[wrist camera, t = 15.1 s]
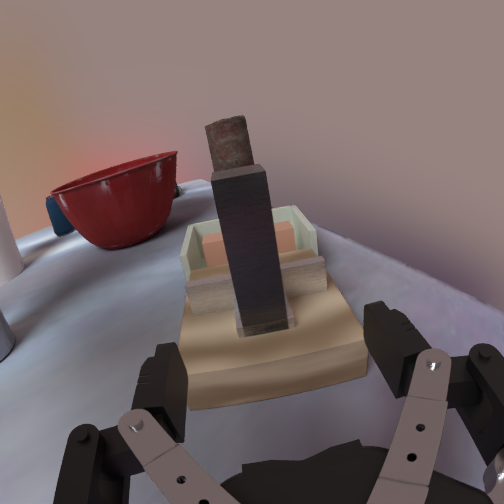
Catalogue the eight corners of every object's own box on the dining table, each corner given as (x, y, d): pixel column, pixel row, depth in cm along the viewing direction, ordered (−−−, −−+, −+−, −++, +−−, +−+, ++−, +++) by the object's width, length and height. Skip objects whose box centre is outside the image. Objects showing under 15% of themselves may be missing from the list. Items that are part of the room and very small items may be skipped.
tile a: (242, 236, 39) (241, 228, 42) (201, 243, 39) (203, 235, 42) (249, 273, 41) (248, 262, 44) (210, 279, 41) (212, 269, 44)
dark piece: (342, 316, 24) (331, 160, 20) (190, 346, 24) (144, 195, 19) (324, 285, 29) (310, 152, 24) (194, 310, 29) (159, 180, 24)
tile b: (293, 228, 39) (288, 220, 41) (252, 235, 39) (250, 227, 41) (298, 265, 41) (293, 255, 43) (258, 272, 41) (256, 262, 43)
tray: (320, 276, 39) (315, 230, 36) (192, 301, 38) (179, 256, 36) (299, 242, 49) (294, 204, 47) (197, 261, 49) (188, 224, 46)
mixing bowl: (49, 264, 61) (27, 198, 55) (127, 217, 85) (113, 163, 79) (137, 269, 50) (109, 177, 44) (215, 210, 74) (202, 144, 68)
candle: (235, 235, 56) (213, 120, 48) (218, 226, 62) (197, 123, 54) (272, 222, 59) (254, 113, 51) (253, 215, 65) (235, 116, 57)
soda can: (80, 228, 86) (69, 189, 81) (63, 237, 80) (50, 197, 75) (69, 228, 89) (58, 192, 84) (52, 237, 83) (40, 199, 78)
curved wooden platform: (366, 375, 23) (368, 338, 22) (190, 410, 23) (174, 376, 21) (313, 277, 39) (310, 247, 37) (199, 300, 38) (190, 270, 37)
